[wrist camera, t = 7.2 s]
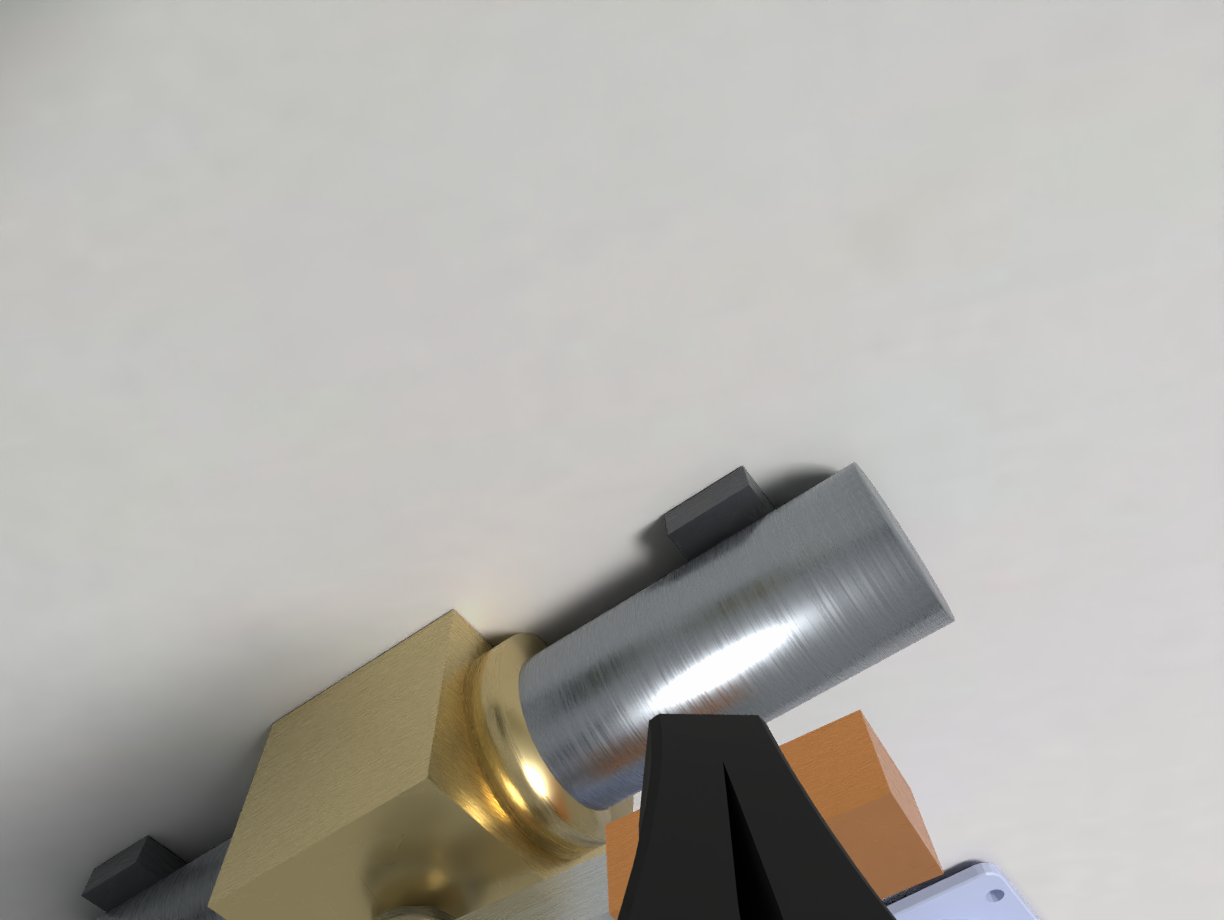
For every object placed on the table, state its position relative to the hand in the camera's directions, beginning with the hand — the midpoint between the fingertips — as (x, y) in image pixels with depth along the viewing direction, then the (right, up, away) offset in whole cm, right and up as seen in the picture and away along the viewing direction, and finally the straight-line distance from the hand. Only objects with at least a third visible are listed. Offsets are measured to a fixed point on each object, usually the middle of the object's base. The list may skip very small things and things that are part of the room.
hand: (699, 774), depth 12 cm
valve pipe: (-5, -3, +12) cm, 13 cm away
